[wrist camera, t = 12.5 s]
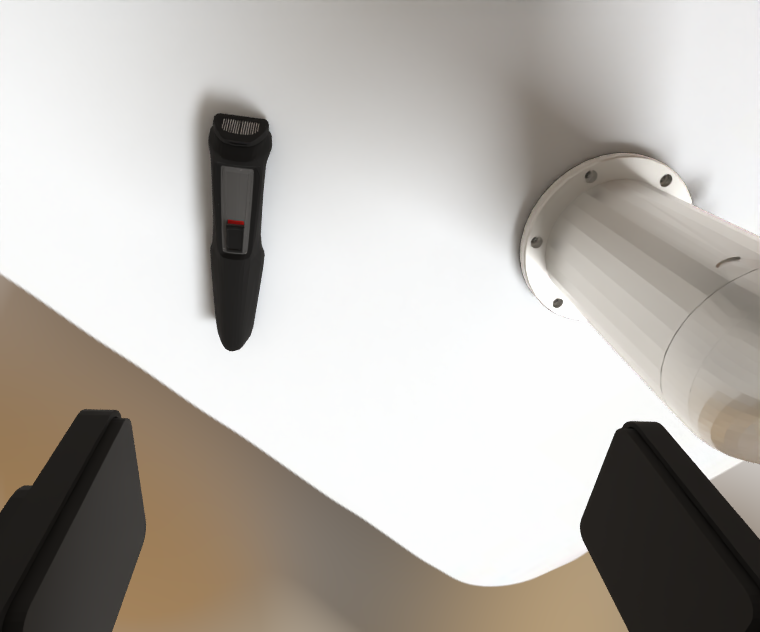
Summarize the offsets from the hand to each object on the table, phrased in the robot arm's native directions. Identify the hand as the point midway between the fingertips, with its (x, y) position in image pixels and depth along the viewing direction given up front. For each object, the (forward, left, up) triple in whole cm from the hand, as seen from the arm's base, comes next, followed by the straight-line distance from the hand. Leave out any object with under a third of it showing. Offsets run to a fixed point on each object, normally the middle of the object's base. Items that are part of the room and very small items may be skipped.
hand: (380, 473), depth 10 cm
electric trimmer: (+6, +5, -28) cm, 29 cm away
